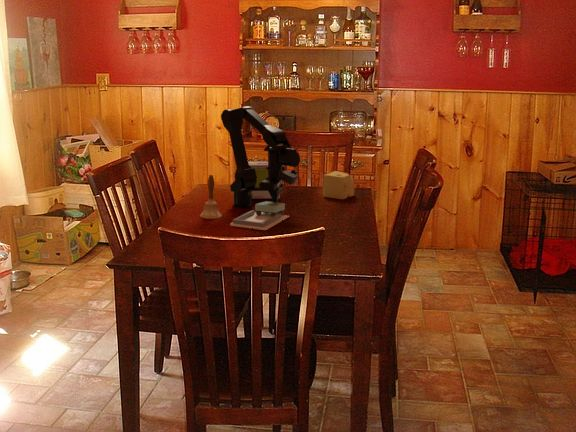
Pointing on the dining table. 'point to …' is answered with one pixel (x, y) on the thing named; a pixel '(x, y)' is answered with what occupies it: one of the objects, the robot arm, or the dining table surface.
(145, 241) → the dining table surface
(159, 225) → the dining table surface
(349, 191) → the cheese
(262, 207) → the sage green box
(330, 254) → the dining table surface
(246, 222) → the dock
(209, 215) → the hand bell
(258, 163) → the tea box
